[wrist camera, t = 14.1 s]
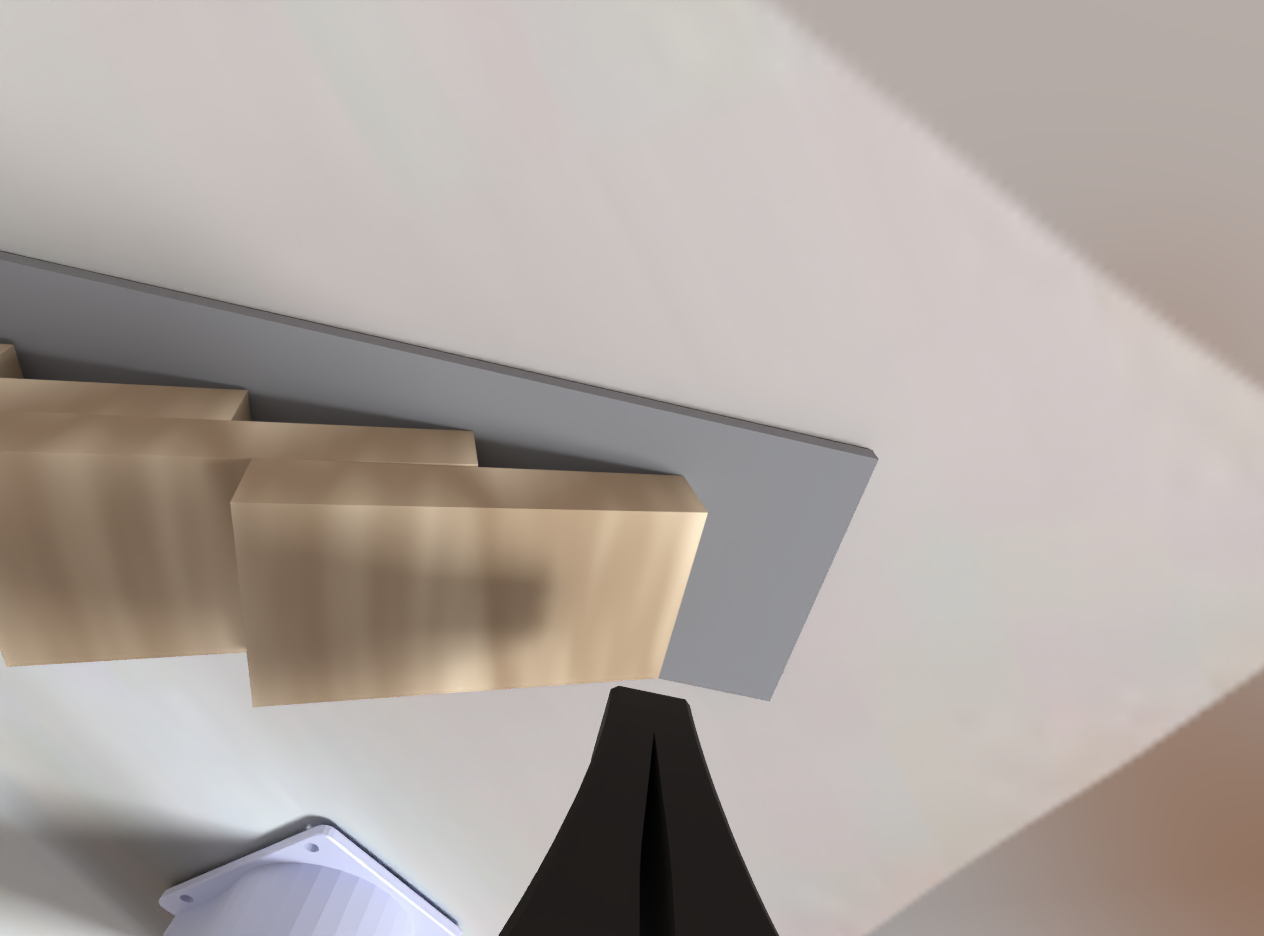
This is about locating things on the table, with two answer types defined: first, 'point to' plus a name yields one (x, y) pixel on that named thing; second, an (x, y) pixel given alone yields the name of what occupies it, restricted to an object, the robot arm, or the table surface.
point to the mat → (486, 438)
